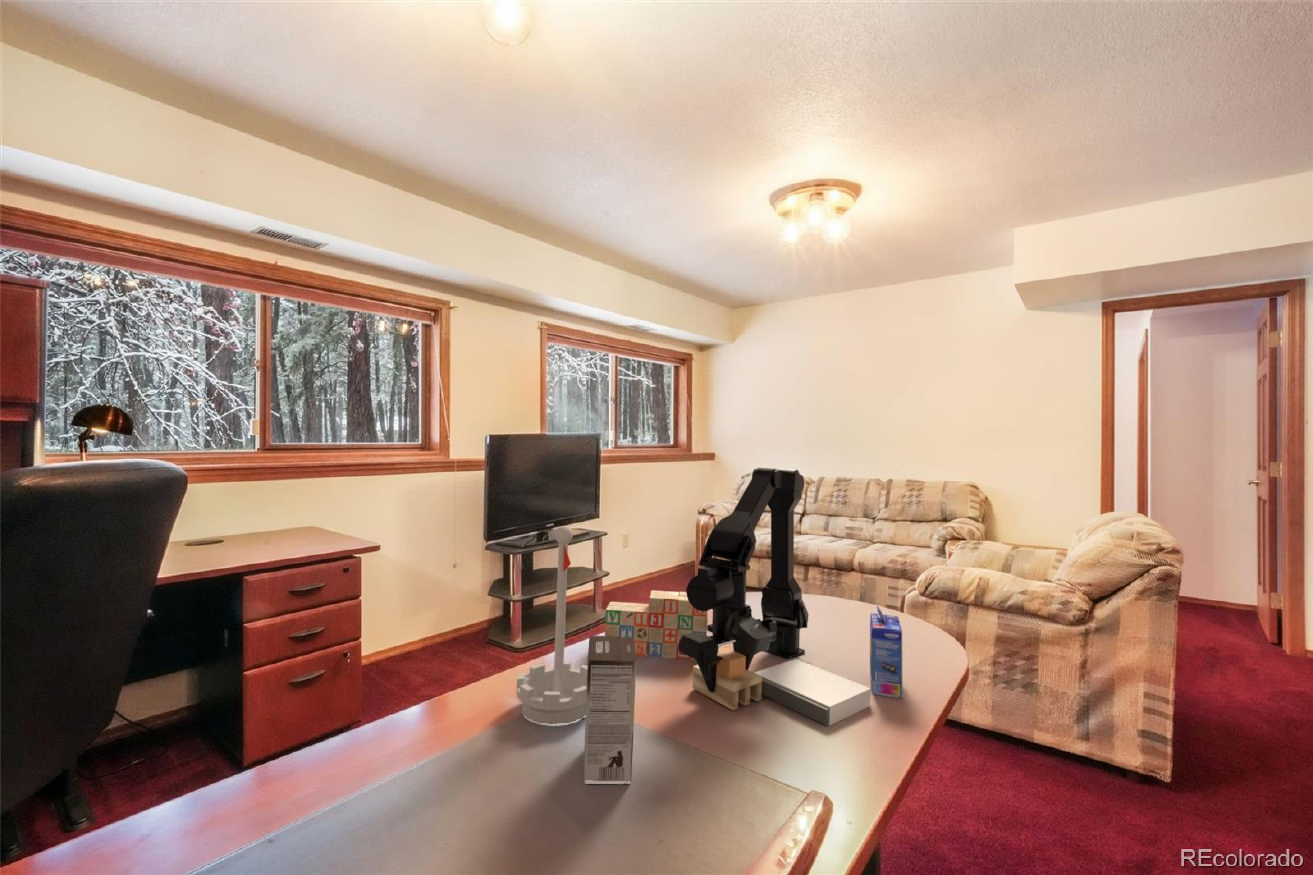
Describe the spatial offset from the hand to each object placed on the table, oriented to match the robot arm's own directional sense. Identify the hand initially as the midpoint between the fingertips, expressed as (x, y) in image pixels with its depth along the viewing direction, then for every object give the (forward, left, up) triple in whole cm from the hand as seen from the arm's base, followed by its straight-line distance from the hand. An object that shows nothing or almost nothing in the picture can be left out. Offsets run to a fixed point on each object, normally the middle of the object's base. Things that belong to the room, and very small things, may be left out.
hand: (726, 686), depth 99 cm
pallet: (0, 0, -1) cm, 1 cm away
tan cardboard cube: (0, 0, +3) cm, 3 cm away
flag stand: (+27, -12, -2) cm, 30 cm away
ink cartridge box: (-28, +14, -2) cm, 31 cm away
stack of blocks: (-3, -23, -2) cm, 24 cm away
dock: (-12, +9, -2) cm, 15 cm away
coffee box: (+29, +6, -2) cm, 30 cm away
